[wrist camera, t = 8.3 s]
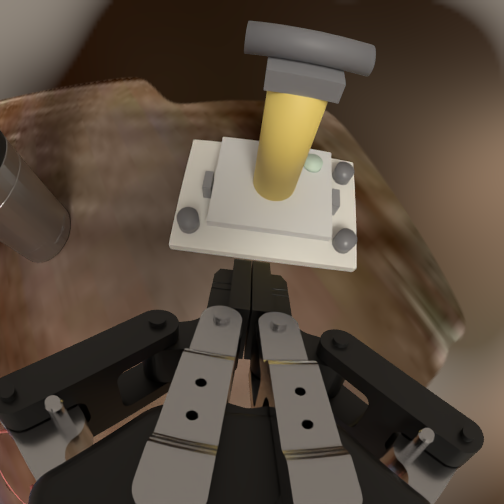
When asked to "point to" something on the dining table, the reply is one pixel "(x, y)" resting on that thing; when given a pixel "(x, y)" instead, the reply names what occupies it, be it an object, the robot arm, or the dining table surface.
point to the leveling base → (258, 243)
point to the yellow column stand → (287, 135)
